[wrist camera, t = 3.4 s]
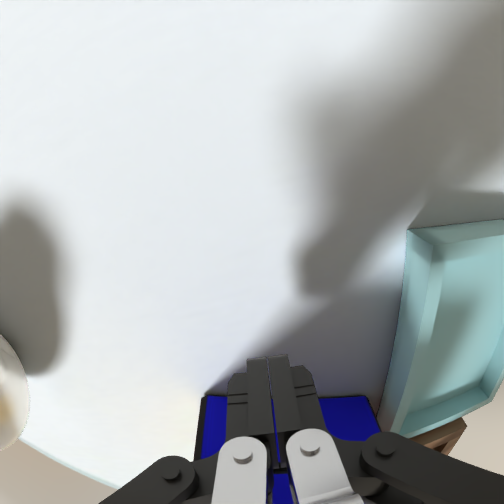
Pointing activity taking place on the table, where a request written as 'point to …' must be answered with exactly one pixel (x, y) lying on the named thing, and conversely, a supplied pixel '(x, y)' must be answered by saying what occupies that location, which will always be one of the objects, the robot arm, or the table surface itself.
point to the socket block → (442, 436)
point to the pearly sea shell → (12, 395)
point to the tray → (446, 327)
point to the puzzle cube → (333, 410)
